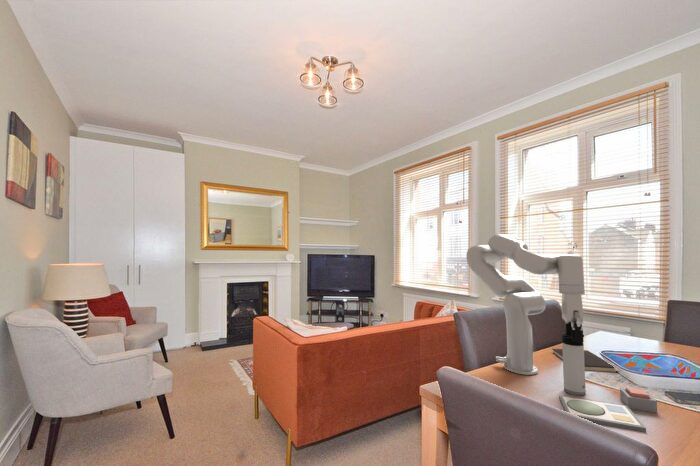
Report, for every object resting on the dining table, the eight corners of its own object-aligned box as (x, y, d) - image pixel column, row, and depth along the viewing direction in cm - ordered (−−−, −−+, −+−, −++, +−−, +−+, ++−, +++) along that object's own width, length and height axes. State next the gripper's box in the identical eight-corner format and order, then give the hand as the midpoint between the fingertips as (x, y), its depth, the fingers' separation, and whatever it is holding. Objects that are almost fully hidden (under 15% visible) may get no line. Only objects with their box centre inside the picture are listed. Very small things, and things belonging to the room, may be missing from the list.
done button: (631, 399, 102) (631, 392, 102) (626, 393, 106) (626, 387, 106) (649, 401, 100) (649, 395, 101) (643, 395, 104) (643, 389, 105)
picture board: (568, 418, 96) (567, 413, 96) (559, 398, 109) (559, 394, 109) (646, 431, 88) (645, 427, 88) (626, 408, 101) (626, 404, 101)
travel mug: (590, 396, 110) (588, 336, 111) (568, 394, 111) (566, 335, 112) (581, 388, 116) (579, 332, 117) (560, 387, 117) (558, 331, 118)
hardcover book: (574, 370, 134) (574, 365, 134) (552, 353, 157) (551, 348, 157) (618, 373, 131) (618, 367, 131) (589, 355, 154) (589, 350, 154)
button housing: (628, 408, 101) (627, 396, 102) (620, 398, 108) (619, 388, 108) (657, 412, 99) (656, 401, 99) (647, 402, 105) (646, 391, 105)
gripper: (555, 286, 124) (557, 332, 123) (563, 291, 109) (566, 343, 107) (578, 287, 121) (581, 333, 120) (591, 292, 106) (594, 345, 104)
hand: (574, 338), depth 114 cm, fingers open, 9 cm apart
